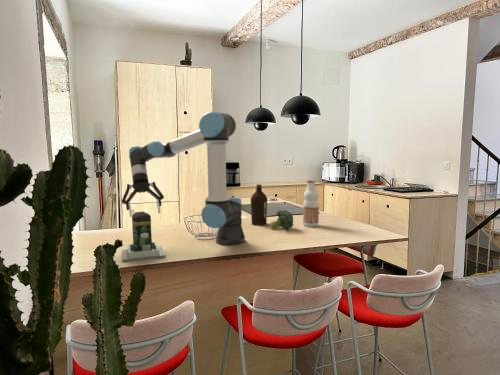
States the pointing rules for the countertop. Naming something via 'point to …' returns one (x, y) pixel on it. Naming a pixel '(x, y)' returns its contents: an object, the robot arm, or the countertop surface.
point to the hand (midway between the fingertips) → (145, 214)
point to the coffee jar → (141, 231)
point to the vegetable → (283, 220)
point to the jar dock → (142, 253)
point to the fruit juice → (311, 205)
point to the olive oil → (259, 207)
